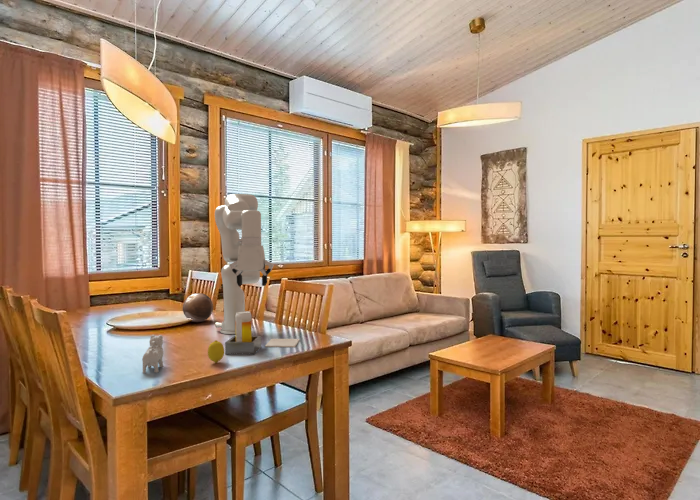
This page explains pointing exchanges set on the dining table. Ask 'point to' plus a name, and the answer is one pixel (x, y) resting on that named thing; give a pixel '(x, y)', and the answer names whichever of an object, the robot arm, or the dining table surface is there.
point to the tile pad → (282, 343)
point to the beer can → (243, 326)
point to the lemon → (216, 351)
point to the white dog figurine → (153, 354)
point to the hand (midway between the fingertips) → (252, 285)
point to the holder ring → (243, 346)
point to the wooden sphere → (198, 307)
